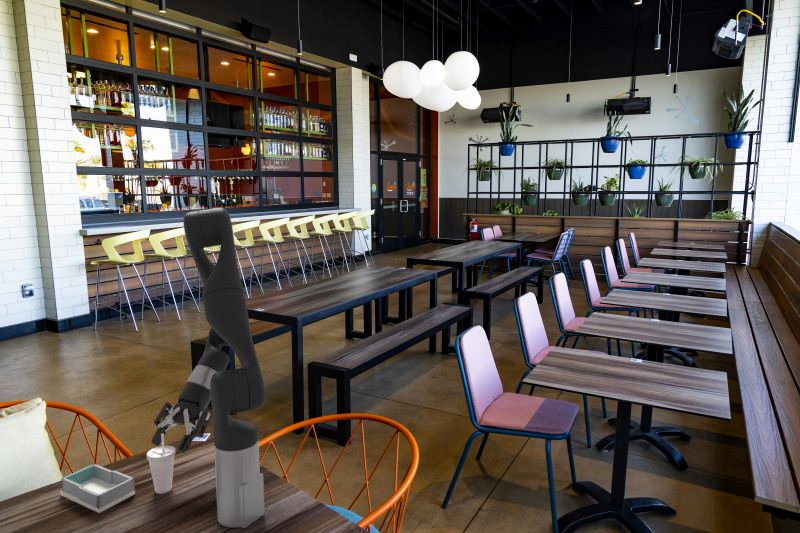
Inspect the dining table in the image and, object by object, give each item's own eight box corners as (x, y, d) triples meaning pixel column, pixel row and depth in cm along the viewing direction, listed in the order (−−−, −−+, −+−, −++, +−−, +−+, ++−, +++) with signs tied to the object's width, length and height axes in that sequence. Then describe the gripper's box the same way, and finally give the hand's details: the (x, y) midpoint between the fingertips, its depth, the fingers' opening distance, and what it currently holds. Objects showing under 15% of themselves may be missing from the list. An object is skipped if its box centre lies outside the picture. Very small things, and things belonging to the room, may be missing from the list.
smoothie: (170, 496, 126) (167, 440, 124) (143, 496, 126) (140, 440, 124) (182, 482, 132) (179, 428, 130) (156, 482, 132) (153, 428, 130)
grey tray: (135, 493, 127) (134, 478, 126) (99, 513, 119) (97, 496, 119) (97, 478, 134) (96, 463, 133) (60, 495, 126) (59, 479, 126)
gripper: (171, 376, 138) (136, 436, 130) (214, 384, 133) (180, 448, 124) (188, 389, 144) (155, 448, 135) (229, 397, 138) (198, 459, 129)
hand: (167, 448), depth 129 cm, fingers open, 8 cm apart
